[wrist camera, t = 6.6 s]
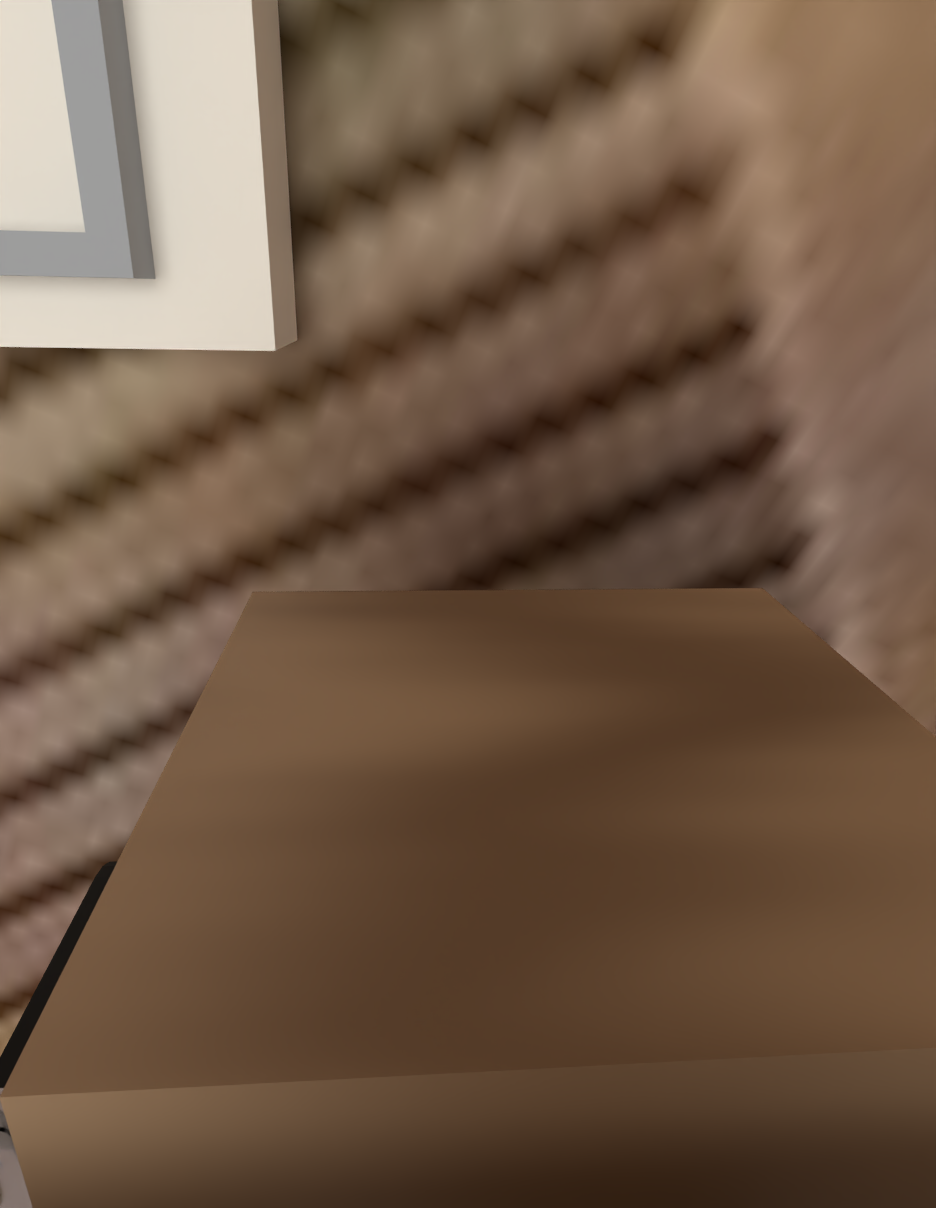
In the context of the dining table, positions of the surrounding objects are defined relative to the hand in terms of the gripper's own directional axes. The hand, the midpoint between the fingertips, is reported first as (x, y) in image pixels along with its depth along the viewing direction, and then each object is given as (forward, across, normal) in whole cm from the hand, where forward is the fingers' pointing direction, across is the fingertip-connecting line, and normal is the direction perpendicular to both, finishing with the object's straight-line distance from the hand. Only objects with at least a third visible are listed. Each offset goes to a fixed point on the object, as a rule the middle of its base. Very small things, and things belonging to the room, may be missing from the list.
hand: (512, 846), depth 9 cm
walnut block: (+1, 0, 0) cm, 1 cm away
